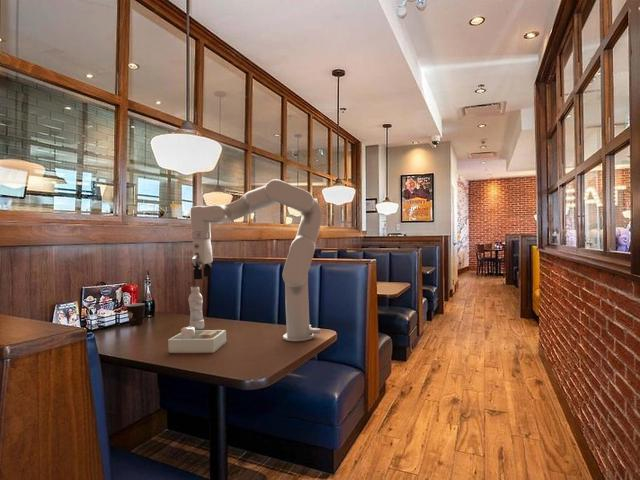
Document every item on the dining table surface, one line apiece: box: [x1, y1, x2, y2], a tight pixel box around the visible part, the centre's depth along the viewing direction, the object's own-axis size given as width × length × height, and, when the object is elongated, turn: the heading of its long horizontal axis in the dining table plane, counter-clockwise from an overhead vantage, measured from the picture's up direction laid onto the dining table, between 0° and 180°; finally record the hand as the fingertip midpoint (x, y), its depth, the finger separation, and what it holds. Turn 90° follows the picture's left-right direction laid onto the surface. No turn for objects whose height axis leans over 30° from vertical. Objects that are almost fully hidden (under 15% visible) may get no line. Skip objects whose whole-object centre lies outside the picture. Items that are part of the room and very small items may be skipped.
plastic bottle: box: [187, 286, 205, 330], centre depth 182 cm, size 6×7×20 cm
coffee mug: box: [126, 302, 149, 327], centre depth 198 cm, size 12×9×10 cm
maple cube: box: [199, 331, 217, 339], centre depth 153 cm, size 5×5×5 cm
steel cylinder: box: [180, 326, 195, 339], centre depth 153 cm, size 5×5×7 cm
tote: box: [167, 329, 227, 354], centre depth 153 cm, size 18×14×5 cm
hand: (203, 277), depth 161 cm, fingers open, 9 cm apart
